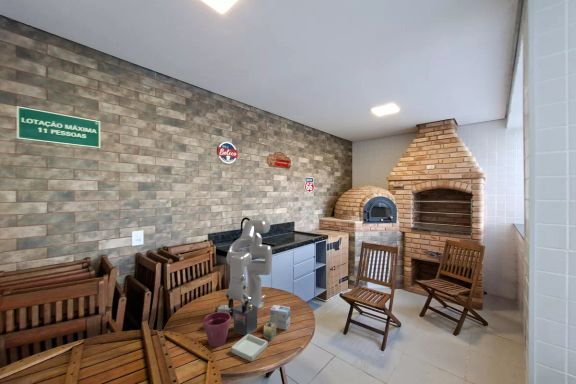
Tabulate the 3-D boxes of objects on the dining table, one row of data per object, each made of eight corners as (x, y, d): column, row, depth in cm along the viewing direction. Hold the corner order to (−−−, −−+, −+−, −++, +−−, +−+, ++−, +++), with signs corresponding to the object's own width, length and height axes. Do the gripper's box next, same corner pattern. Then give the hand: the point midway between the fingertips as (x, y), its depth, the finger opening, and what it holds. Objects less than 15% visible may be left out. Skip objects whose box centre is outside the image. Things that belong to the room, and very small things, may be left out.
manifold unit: (244, 323, 149) (244, 300, 148) (257, 328, 144) (257, 304, 143) (233, 331, 141) (233, 306, 140) (246, 336, 136) (246, 310, 135)
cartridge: (268, 333, 139) (269, 319, 139) (276, 335, 137) (276, 321, 137) (263, 337, 135) (263, 323, 135) (271, 340, 132) (271, 326, 132)
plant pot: (215, 331, 141) (215, 309, 141) (236, 337, 136) (236, 314, 135) (197, 346, 128) (197, 321, 127) (219, 353, 122) (219, 327, 122)
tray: (248, 338, 135) (248, 333, 135) (267, 346, 128) (267, 341, 128) (230, 352, 123) (230, 347, 123) (251, 361, 116) (251, 356, 116)
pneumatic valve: (232, 328, 144) (232, 308, 144) (214, 326, 146) (214, 306, 146) (236, 323, 149) (236, 303, 149) (218, 321, 152) (218, 302, 151)
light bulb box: (290, 324, 148) (290, 306, 148) (286, 330, 142) (286, 312, 142) (274, 321, 152) (274, 304, 152) (269, 327, 145) (269, 309, 145)
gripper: (254, 279, 132) (254, 310, 132) (230, 273, 141) (230, 303, 141) (245, 284, 125) (245, 317, 126) (220, 277, 134) (221, 308, 134)
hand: (237, 309), depth 133 cm, fingers open, 9 cm apart
